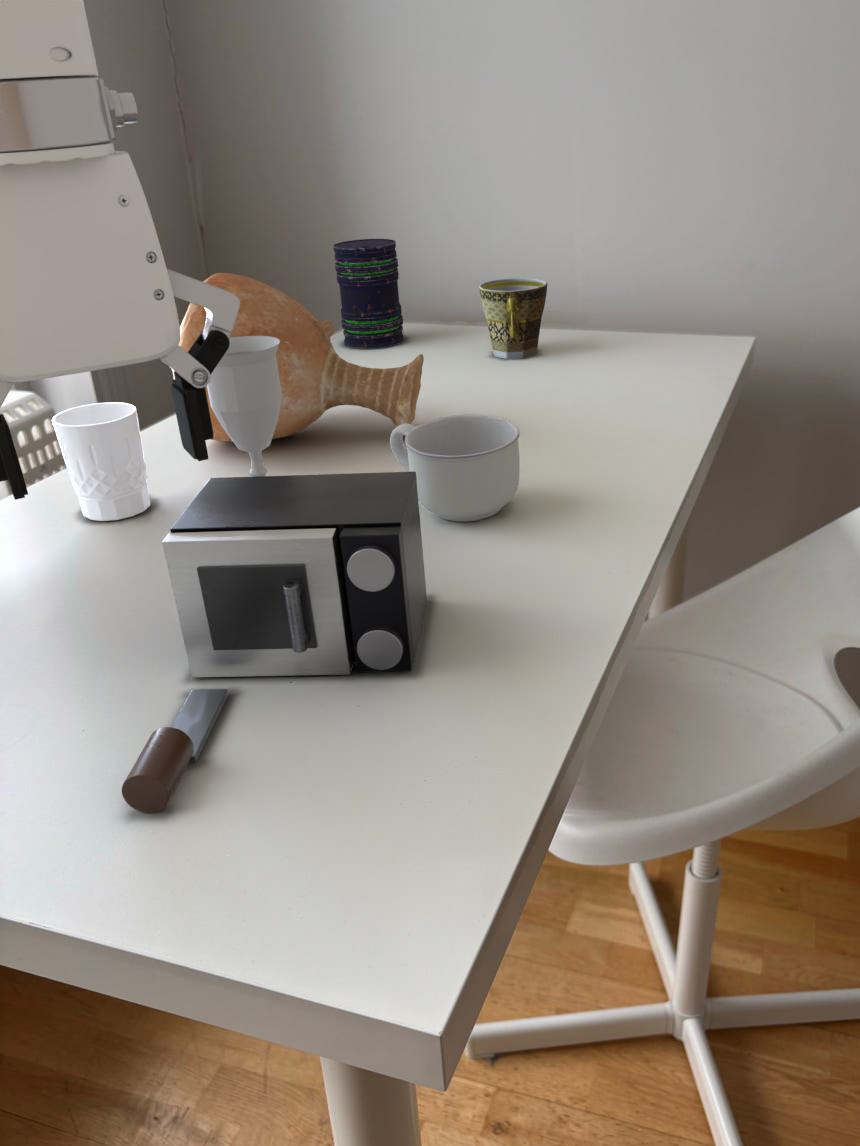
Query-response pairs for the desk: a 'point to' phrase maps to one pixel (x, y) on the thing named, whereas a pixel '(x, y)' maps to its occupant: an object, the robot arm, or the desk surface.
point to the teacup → (461, 463)
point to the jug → (306, 360)
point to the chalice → (248, 395)
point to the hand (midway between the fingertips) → (110, 472)
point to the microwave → (341, 546)
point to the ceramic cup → (514, 315)
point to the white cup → (104, 459)
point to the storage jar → (369, 293)
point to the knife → (172, 751)
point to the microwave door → (260, 602)
